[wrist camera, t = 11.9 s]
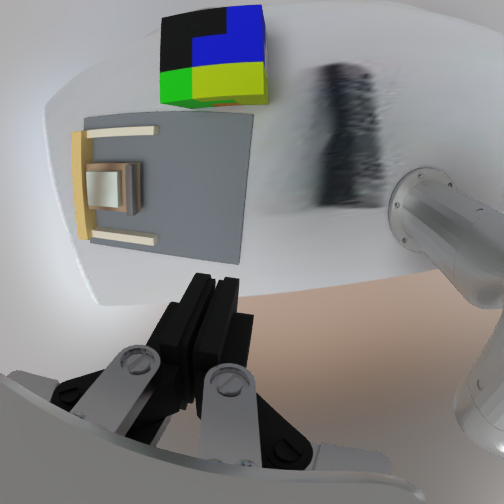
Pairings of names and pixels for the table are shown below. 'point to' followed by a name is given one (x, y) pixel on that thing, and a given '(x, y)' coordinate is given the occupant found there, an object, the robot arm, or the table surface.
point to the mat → (169, 181)
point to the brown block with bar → (114, 186)
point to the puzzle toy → (214, 58)
